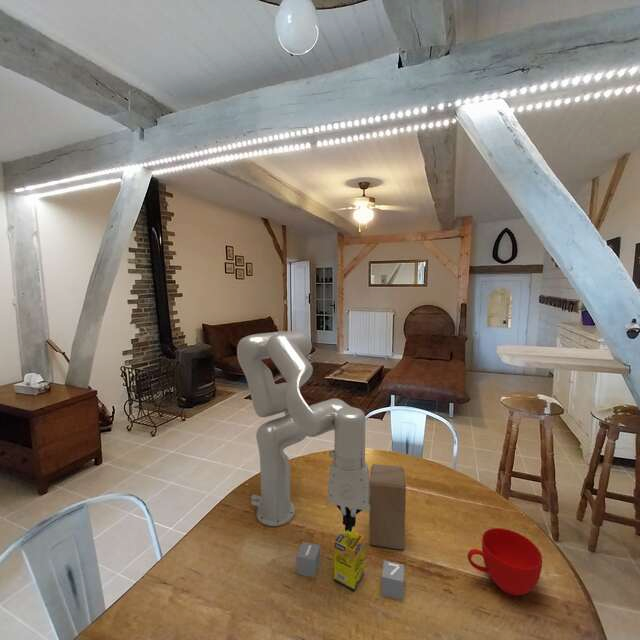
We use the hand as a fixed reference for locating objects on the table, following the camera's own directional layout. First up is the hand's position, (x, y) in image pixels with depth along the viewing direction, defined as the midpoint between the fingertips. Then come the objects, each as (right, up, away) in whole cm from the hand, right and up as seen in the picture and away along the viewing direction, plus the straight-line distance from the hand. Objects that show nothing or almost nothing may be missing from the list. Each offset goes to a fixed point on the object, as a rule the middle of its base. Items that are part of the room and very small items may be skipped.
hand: (349, 527), depth 83 cm
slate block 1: (-10, -14, +4) cm, 18 cm away
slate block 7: (+11, -14, -2) cm, 18 cm away
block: (+13, -13, +15) cm, 24 cm away
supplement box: (0, -14, +1) cm, 14 cm away
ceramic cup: (+38, -14, 0) cm, 41 cm away
